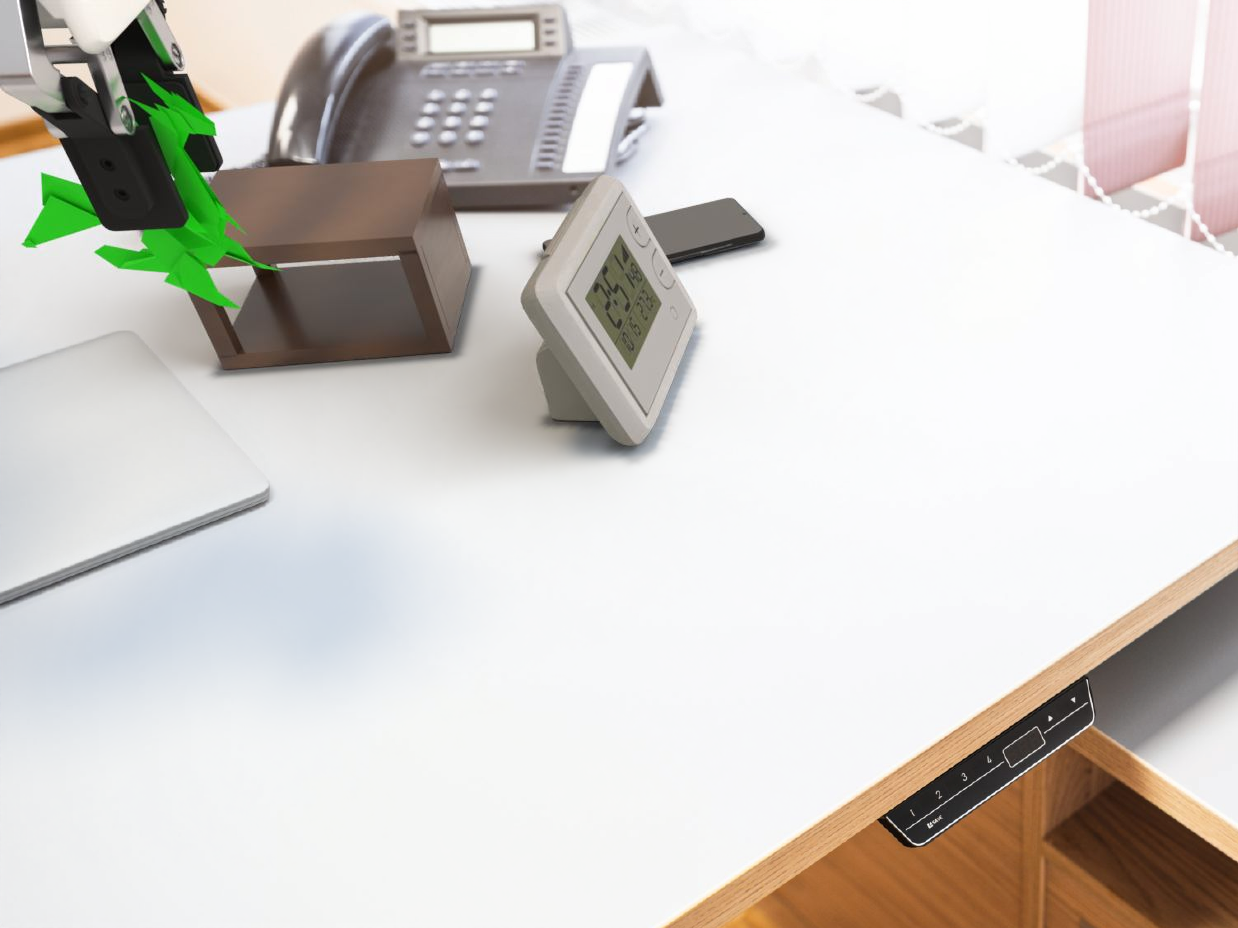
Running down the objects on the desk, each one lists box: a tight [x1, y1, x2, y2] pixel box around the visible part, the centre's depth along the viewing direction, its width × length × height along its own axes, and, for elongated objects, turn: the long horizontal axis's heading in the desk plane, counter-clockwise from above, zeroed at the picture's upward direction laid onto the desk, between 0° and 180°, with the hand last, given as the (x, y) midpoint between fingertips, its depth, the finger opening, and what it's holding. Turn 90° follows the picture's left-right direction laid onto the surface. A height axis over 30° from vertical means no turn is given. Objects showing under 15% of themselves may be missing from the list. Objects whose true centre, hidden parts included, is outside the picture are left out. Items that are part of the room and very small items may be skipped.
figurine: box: [21, 73, 281, 310], centre depth 56 cm, size 6×12×9 cm, turn 74°
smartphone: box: [542, 197, 766, 264], centre depth 98 cm, size 7×1×15 cm
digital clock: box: [520, 174, 698, 447], centre depth 81 cm, size 16×9×11 cm, turn 168°
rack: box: [186, 157, 473, 370], centre depth 88 cm, size 14×12×8 cm
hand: (166, 193), depth 57 cm, fingers closed on figurine, 4 cm apart
